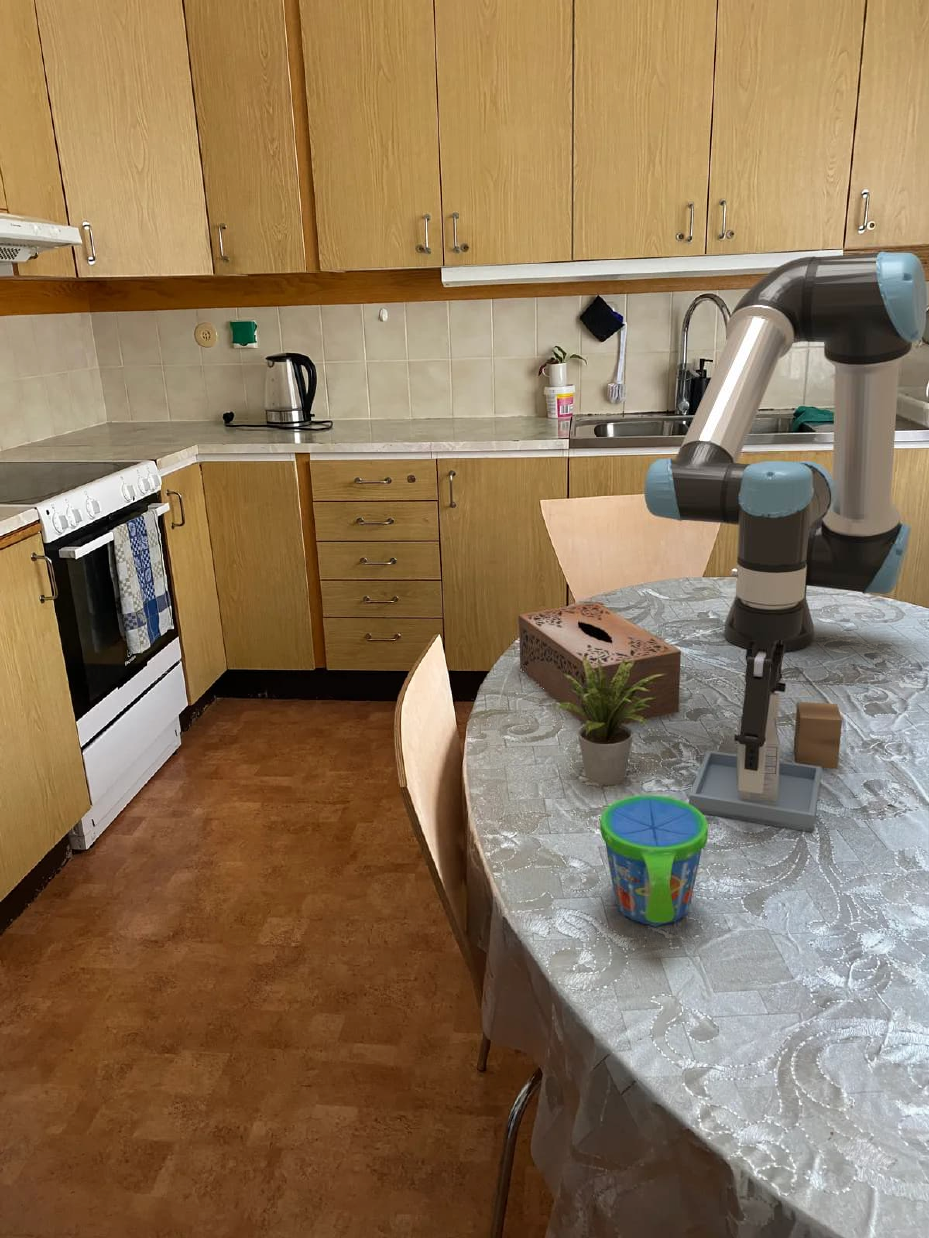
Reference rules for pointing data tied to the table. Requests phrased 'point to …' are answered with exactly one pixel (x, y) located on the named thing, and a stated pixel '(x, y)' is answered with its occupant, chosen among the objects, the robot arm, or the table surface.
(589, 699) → the house plant
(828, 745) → the walnut block
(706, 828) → the snack cup
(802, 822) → the grey tray
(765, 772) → the medicine box
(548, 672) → the tissue box cover
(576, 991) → the table surface
